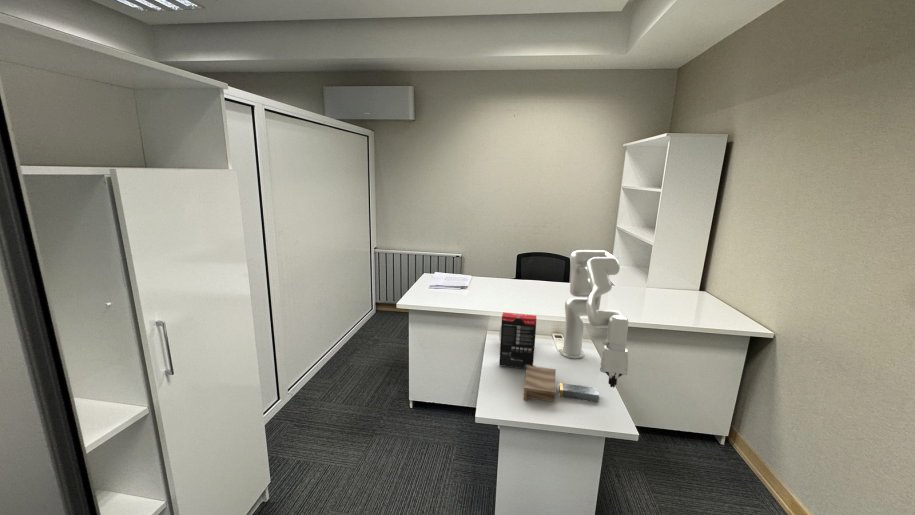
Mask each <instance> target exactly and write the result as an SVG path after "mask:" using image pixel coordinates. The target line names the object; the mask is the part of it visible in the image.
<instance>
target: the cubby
mask: <svg viewBox="0 0 915 515" xmlns="http://www.w3.org/2000/svg"><path fill="white" fill-rule="evenodd" d="M556 371H557V370H556V369H555V368H548V367H542V366H541V367H540V366H535V365H533V366H527V369H526V373H525V374H526V375H525V380H524V384H523V385H524V386H523V401H526V402H527V399H528V398H529V399H535V400H541V401H548V402H556V401H555V399H556V391H557V390H556V388H557V387H556V385H557V383H556V382H557V380H556V379H557V376H556V373H557V372H556Z"/></svg>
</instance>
